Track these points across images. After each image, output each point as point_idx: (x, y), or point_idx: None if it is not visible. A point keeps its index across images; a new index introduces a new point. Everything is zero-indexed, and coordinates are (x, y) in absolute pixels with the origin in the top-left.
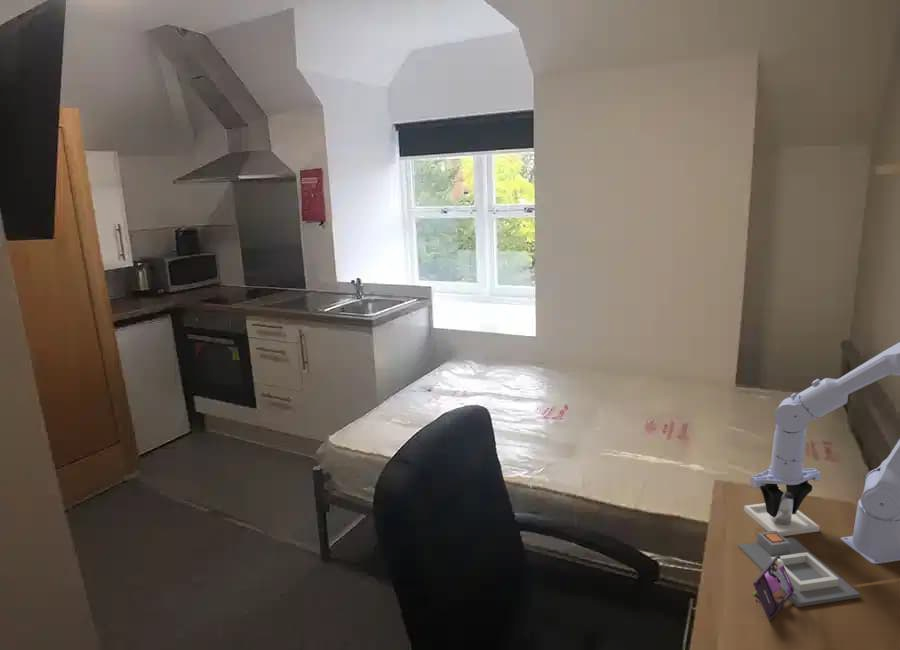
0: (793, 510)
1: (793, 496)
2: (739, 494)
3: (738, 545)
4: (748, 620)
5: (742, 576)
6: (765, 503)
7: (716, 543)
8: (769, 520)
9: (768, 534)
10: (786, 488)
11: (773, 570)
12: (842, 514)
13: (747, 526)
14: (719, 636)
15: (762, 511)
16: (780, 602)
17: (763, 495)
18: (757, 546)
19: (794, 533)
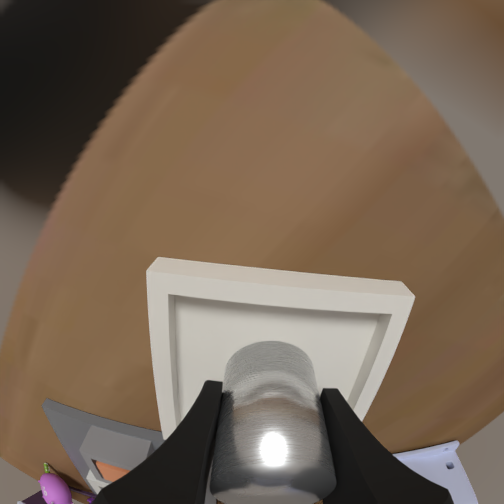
0: None
1: (315, 501)
2: (261, 94)
3: (42, 406)
4: (32, 468)
5: (38, 439)
6: (189, 410)
7: (5, 360)
8: (218, 366)
9: (105, 467)
10: (358, 468)
11: None
12: (491, 365)
13: (112, 348)
14: (2, 456)
15: (242, 303)
16: (75, 490)
17: (163, 445)
18: (86, 431)
19: None
